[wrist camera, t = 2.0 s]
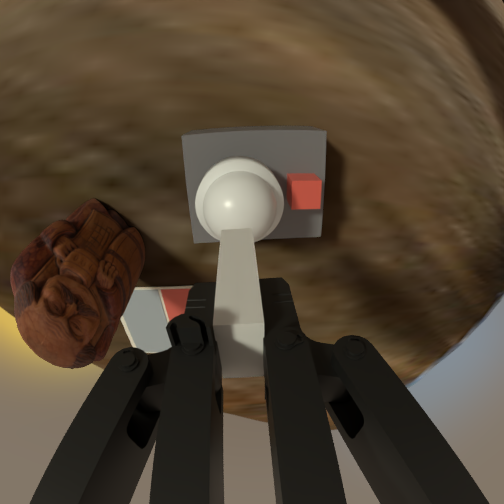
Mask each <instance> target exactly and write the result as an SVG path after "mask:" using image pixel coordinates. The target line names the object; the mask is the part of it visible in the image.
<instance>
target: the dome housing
mask: <svg viewBox="0 0 504 504" xmlns="http://www.w3.org/2000/svg"><path fill="white" fill-rule="evenodd" d="M182 146H183V156H184V166H185V176H186V185H187V193H188V202H189V210H190V217H191V225H192V232H193V239H194V243H206V242H220V241H219V240H217V239H216V238H214V237H213V236H211V235H210V234H209V233H208V232H207V231H206V230H205V229H204V228H203V226H202V225H201V223H200V221H199V219H198V217H197V214H196V209H195V199H196V194H197V190H198V188H199V186H200V183H201V181H202V179H203V177H204V175H205V174H206V172H207V171H208V170H209V169H210V168H211V167H212V166H213V165H214V164H216V163H217V162H219V161H221V160H223V159H225V158H228V157H233V156H246V157H251V158H254V159H256V160H259V161H260V162H262V163H264V164H265V165H266V166H267V167H268V168H269V169H270V170H271V171H272V172H273V174H274V175H275V177H276V179H277V181H278V183H279V185H280V187H281V190H282V193H283V197H284V209H283V214H282V217H281V219H280V221H279V223H278V225H277V226H276V228H275V229H274V230H273V231H272V232H271V233H270V234H269V235H267V236H266V237H265V238H263V239H283V238H304V237H321V229H322V216H323V202H324V185H325V164H326V131H325V130H322V129H319V128H316V127H312V126H248V127H228V128H214V129H202V130H192V131H190V132H188V133H186V134H184V135H182ZM261 240H262V239H261Z"/></svg>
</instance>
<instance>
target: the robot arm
mask: <svg viewBox="0 0 504 504" xmlns="http://www.w3.org/2000/svg"><path fill="white" fill-rule="evenodd" d="M502 1H503V3H504V0H502ZM166 330H167V334H168V337H169V340H170V343H171V346H172V347H170V348H169V349H167V350H164V351H161V352H158V353H154V354H150V355H147V354H146V353H145V352H144V350H141V349H139V348H135V347H129V348H125V349H122V350H120V351H119V352H117V353H116V354H115V355H114V356H113V357H112V358H111V360H110V362H109V363H108V365H107V366H106V368H105V369H104V371H103V372H102V374H101V376H100V377H99V379H98V380H97V382H96V384H95V385H94V387H93V388H92V390H91V392H90V393H89V395H88V397H87V398H86V400H85V402H84V403H83V405H82V406H81V408H80V410H79V411H78V413H77V415H76V417H75V418H74V420H73V422H72V423H71V425H70V427H69V429H68V430H67V433H66V434H65V436H64V438H63V439H62V441H61V443H60V445H59V447H58V448H57V450H56V452H55V454H54V456H53V458H52V459H51V462H50V463H49V465H48V467H47V469H46V471H45V473H44V475H43V477H42V479H41V481H40V483H39V485H38V487H37V489H36V491H35V494H34V495H33V497H32V500H31V502H30V504H129V503H130V501H131V498H132V496H133V493H134V491H135V489H136V486H137V484H138V481H139V479H140V477H141V474H142V472H143V469H144V467H145V465H146V462H147V460H148V457H149V455H150V453H151V450H152V448H153V445H154V443H155V441H156V446H155V454H154V462H153V471H152V481H151V491H150V502H149V504H224V480H223V479H224V475H223V388H222V377H223V378H239V377H257V376H264V377H265V400H266V406H267V416H268V426H269V436H270V446H271V456H272V466H273V476H274V486H275V496H276V504H347V503H346V498H345V493H344V488H343V484H342V479H341V474H340V470H339V465H338V461H337V456H336V451H335V447H334V443H333V439H332V434H331V430H330V425H329V421H328V417H327V413H326V410H327V411H328V413H329V415H330V417H331V418H332V420H333V422H334V424H335V425H336V427H337V429H338V431H339V432H340V434H341V436H342V438H343V440H344V441H345V443H346V445H347V447H348V448H349V450H350V452H351V454H352V455H353V457H354V459H355V460H356V462H357V464H358V466H359V467H360V469H361V471H362V472H363V474H364V476H365V478H366V479H367V481H368V483H369V485H370V486H371V488H372V490H373V491H374V493H375V495H376V497H377V498H378V500H379V502H380V504H489V502H488V501H487V499H486V498H485V496H484V495H483V493H482V492H481V490H480V489H479V487H478V486H477V484H476V483H475V481H474V480H473V478H472V477H471V475H470V474H469V472H468V471H467V469H466V468H465V467H464V465H463V464H462V462H461V461H460V459H459V458H458V457H457V455H456V454H455V452H454V451H453V450H452V448H451V447H450V445H449V444H448V443H447V441H446V440H445V438H444V437H443V436H442V434H441V433H440V432H439V430H438V429H437V427H436V426H435V425H434V423H433V422H432V421H431V419H430V418H429V417H428V415H427V414H426V413H425V411H424V410H423V409H422V408H421V406H420V405H419V404H418V402H417V401H416V400H415V398H414V397H413V396H412V394H411V393H410V392H409V391H408V389H407V388H406V387H405V385H404V384H403V383H402V381H401V380H400V379H399V378H398V376H397V375H396V374H395V372H394V371H393V370H392V369H391V367H390V366H389V365H388V364H387V362H386V361H385V360H384V359H383V357H382V356H381V355H380V354H379V352H378V351H377V350H376V349H375V347H374V346H373V345H372V344H371V343H370V342H369V341H368V340H367V339H365V338H362V337H360V336H354V335H349V336H344V337H342V338H340V339H339V340H337V342H336V343H335V344H334V345H333V344H326V343H320V342H316V341H313V340H311V339H309V338H308V337H307V336H306V335H305V334H304V333H303V332H302V330H301V328H300V325H299V321H298V317H297V313H296V310H295V306H294V302H293V298H292V295H291V291H290V287H289V284H288V283H287V282H286V281H285V280H284V279H283V278H266V279H259V277H258V270H257V262H256V254H255V246H254V238H253V231H252V228H245V229H227V230H221V239H220V249H219V260H218V270H217V281H216V282H207V283H195V284H194V285H193V287H192V288H191V289H190V290H189V293H188V297H187V302H186V309H185V312H184V314H180V315H178V316H176V317H174V318H173V319H172V320H170V321H169V322H168V324H167V326H166ZM325 408H326V409H325Z"/></svg>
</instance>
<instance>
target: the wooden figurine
mask: <svg viewBox="0 0 504 504" xmlns="http://www.w3.org/2000/svg"><path fill="white" fill-rule="evenodd" d="M144 262H145V246H144V242H143V239H142V237H141V235H140V233H139V232H138V230H137V229H136V228H134V227H131V228H130V227H128V226H127V224H126V223H125V221H124V220H123V219H122V218H121V217H120V216H119V214H118V213H117V212H116V211H114V210H108V211H107V210H106V208H105V207H104V206H103V205H102V204H101V203H100V202H99V201H98V200H96V199H95V198H93V199H90V200H88V201H87V202H85V203H84V204H82V205H81V206H80V207H79V208H77V209H76V210H75V211H74V212H73V213H72V214H71V215H70V216H69V217H68V218H67V219H66V220H58V221H56V222H54V223H52V224H51V225H50V226H48V227H47V228H46V229H45V230H43V232H42V233H41V234H40V235H39V236H38V237H36V238H35V239H34V240H33V241H32V242H31V243H30V244H29V245H28V246H27V247H26V248H25V249H24V250H23V251H22V252H21V253H20V255H19V256H18V257H17V259H16V260H15V262H14V263H13V266H12V269H11V279H10V281H11V286H12V290H13V294H14V297H15V299H14V305H15V308H14V314H15V318H16V322H17V327H18V330H19V332H20V334H21V336H22V338H23V340H24V341H25V342H26V344H27V345H28V346H29V347H30V348H31V349H32V350H33V351H34V352H35V353H36V354H37V355H38V356H39V357H41V358H42V359H44V360H46V361H47V362H49V363H51V364H53V365H55V366H59V367H63V368H71V369H73V368H81V367H85V366H87V365H89V364H91V363H92V362H93V361H100V360H102V359H103V358H104V357H105V355H106V353H107V351H108V348H109V346H110V343H111V341H112V338H113V336H114V334H115V332H116V330H117V327H118V324H119V320H120V319H121V317H122V316H123V314H124V312H125V310H126V307H127V305H128V303H129V301H130V298H131V296H132V294H133V291H134V289H135V287H136V284H137V281H138V279H139V277H140V274H141V272H142V269H143V266H144Z"/></svg>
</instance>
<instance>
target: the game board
mask: <svg viewBox="0 0 504 504" xmlns="http://www.w3.org/2000/svg"><path fill="white" fill-rule="evenodd" d="M192 287H193V286H165V287H135V289H134V291H133V294H132V296H131V298H130V301H129V303H128V305H127V307H126V310H125V312H124V314H123V316H122V317H121V321H122V324H123V326H124V328H125V331H126V333H127V335H128V337H129V339H130V342H131V344H132V346H133V347H135V348H139V349H141V350H144V352H145V353H158V352H161V351H164V350H167V349H169V348H170V347H172V346H171V343H170V340H169V337H168V334H167V330H166V326H167V324H168V322H169V321H170V320H172V319H173V318H174V317H176V316H178V315H180V314H184V312H185V309H186V302H187V297H188V293H189V290H190V289H191V288H192Z"/></svg>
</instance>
